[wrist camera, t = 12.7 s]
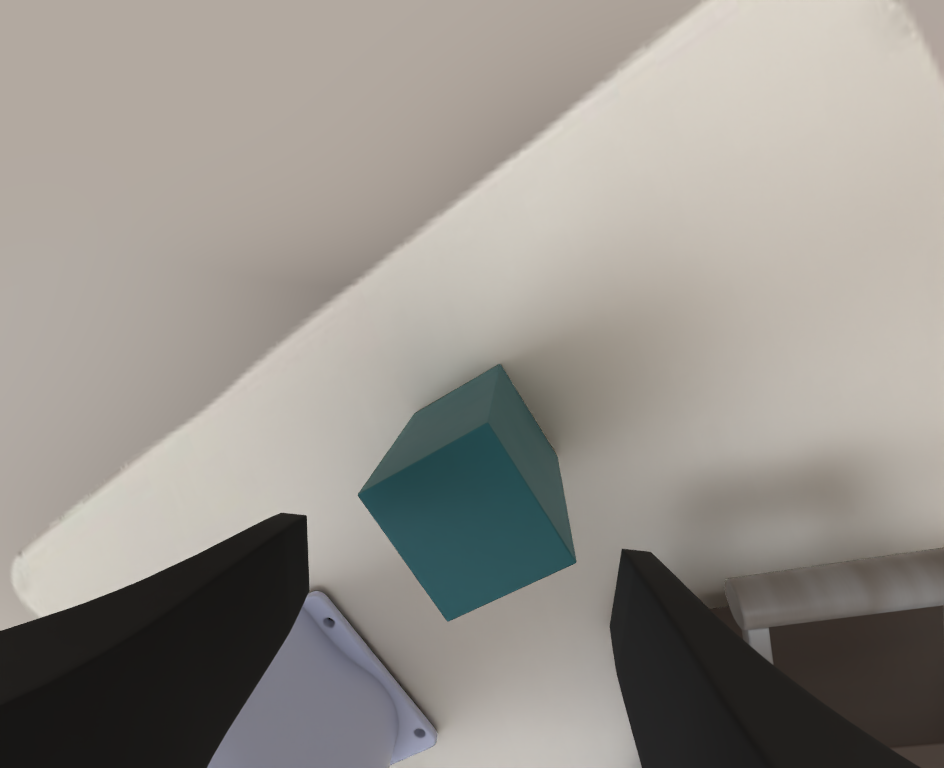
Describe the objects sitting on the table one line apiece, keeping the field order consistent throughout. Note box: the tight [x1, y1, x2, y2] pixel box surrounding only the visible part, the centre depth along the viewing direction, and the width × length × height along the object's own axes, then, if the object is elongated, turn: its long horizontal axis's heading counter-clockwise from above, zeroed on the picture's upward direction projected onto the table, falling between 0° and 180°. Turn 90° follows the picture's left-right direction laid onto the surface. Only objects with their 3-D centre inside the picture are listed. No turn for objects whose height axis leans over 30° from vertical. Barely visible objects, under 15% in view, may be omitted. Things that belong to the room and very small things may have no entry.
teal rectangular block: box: [358, 364, 576, 621], centre depth 15 cm, size 4×4×7 cm
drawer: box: [710, 548, 944, 768], centre depth 16 cm, size 18×13×6 cm
